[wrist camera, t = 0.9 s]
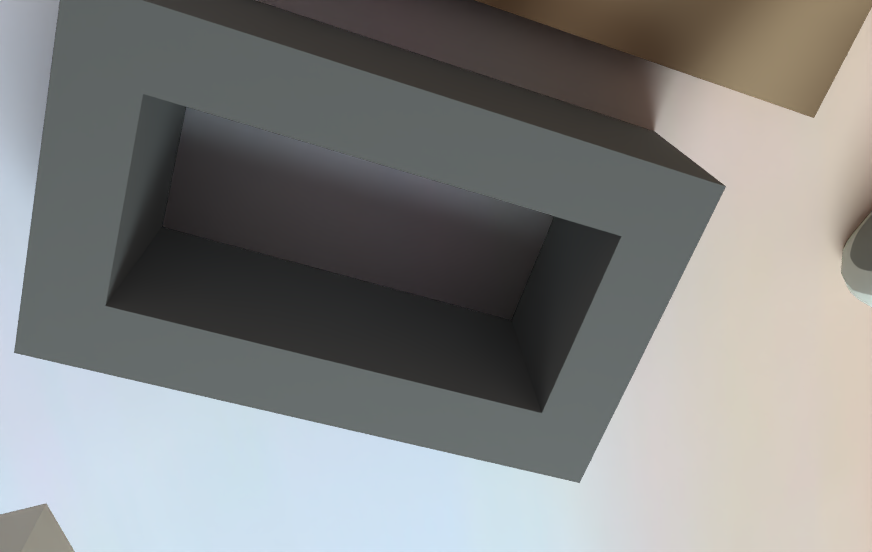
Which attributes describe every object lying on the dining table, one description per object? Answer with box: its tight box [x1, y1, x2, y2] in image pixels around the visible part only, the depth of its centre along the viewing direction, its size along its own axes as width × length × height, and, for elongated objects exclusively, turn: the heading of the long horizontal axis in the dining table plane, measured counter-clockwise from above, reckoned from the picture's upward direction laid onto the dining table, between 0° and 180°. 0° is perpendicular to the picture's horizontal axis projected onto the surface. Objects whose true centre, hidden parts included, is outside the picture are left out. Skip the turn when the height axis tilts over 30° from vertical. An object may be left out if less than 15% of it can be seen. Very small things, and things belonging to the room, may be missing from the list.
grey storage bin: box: [14, 0, 726, 483], centre depth 28 cm, size 20×12×7 cm, turn 72°
